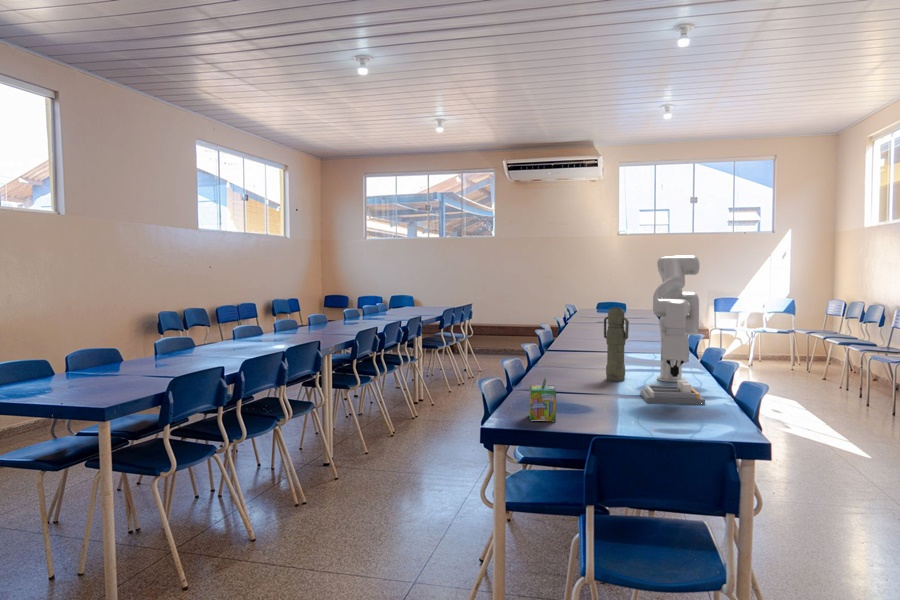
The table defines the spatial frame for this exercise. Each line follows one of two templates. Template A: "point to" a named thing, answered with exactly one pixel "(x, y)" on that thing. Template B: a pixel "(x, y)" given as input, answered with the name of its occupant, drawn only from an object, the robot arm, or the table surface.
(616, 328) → the thermos
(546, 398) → the chalk box
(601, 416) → the table surface
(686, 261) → the robot arm
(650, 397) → the switch board
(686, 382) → the tab
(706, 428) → the table surface
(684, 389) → the tab
